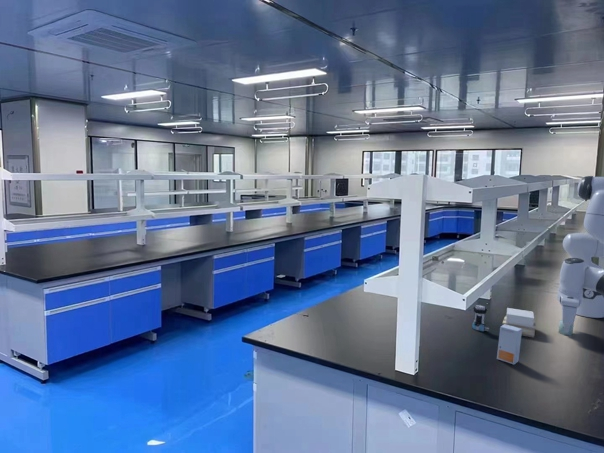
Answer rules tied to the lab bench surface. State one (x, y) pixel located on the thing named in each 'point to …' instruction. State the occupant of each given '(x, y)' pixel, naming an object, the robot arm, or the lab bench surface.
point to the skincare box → (509, 344)
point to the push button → (479, 318)
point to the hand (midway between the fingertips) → (565, 329)
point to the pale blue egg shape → (561, 329)
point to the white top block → (520, 317)
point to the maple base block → (523, 328)
